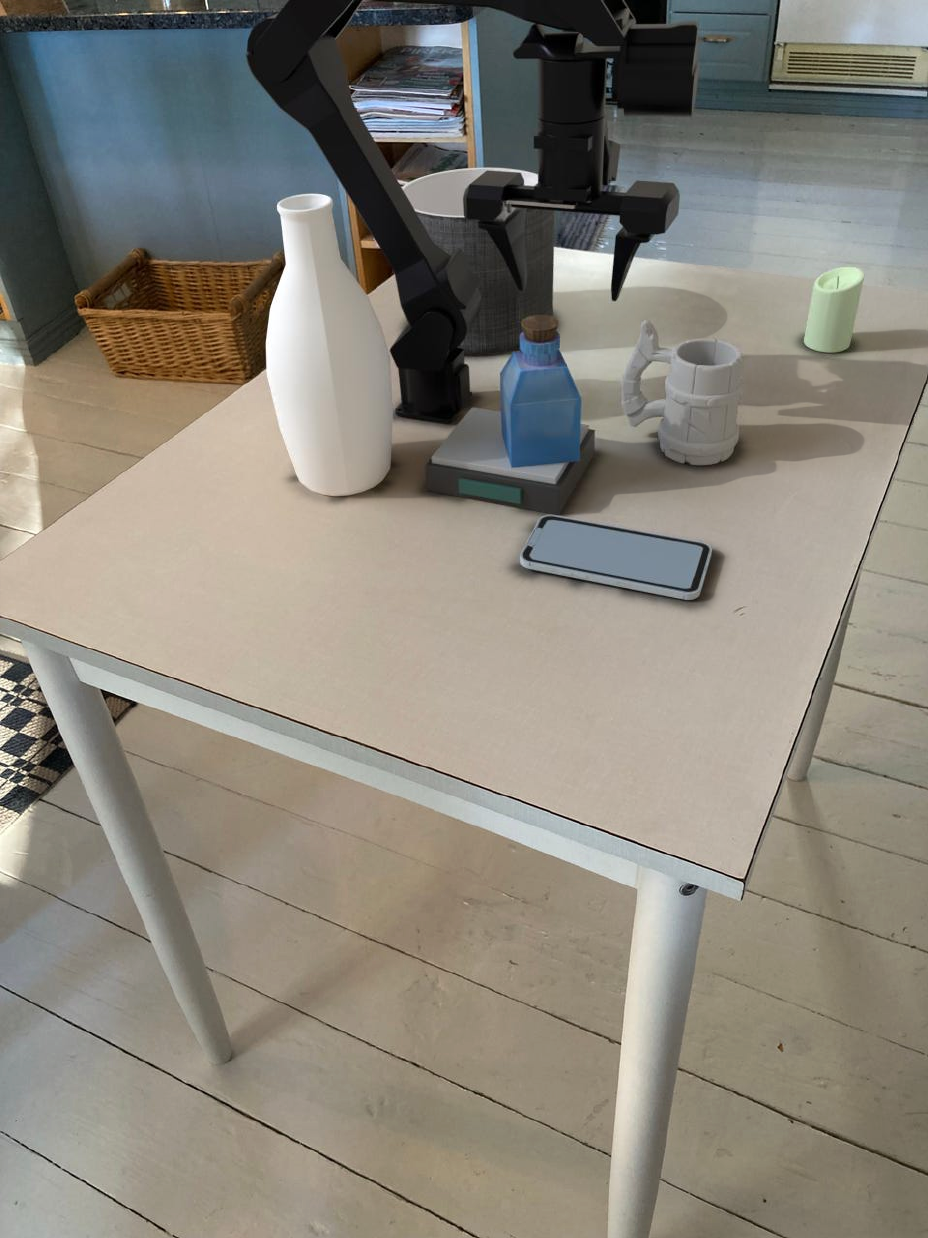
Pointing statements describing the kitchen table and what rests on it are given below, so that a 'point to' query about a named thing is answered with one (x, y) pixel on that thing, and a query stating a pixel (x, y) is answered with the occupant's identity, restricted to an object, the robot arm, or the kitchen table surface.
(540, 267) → the planter
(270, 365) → the bottle
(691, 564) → the smartphone
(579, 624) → the kitchen table surface
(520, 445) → the perfume bottle
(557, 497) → the scale
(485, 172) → the robot arm
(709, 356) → the mug
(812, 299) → the candle
